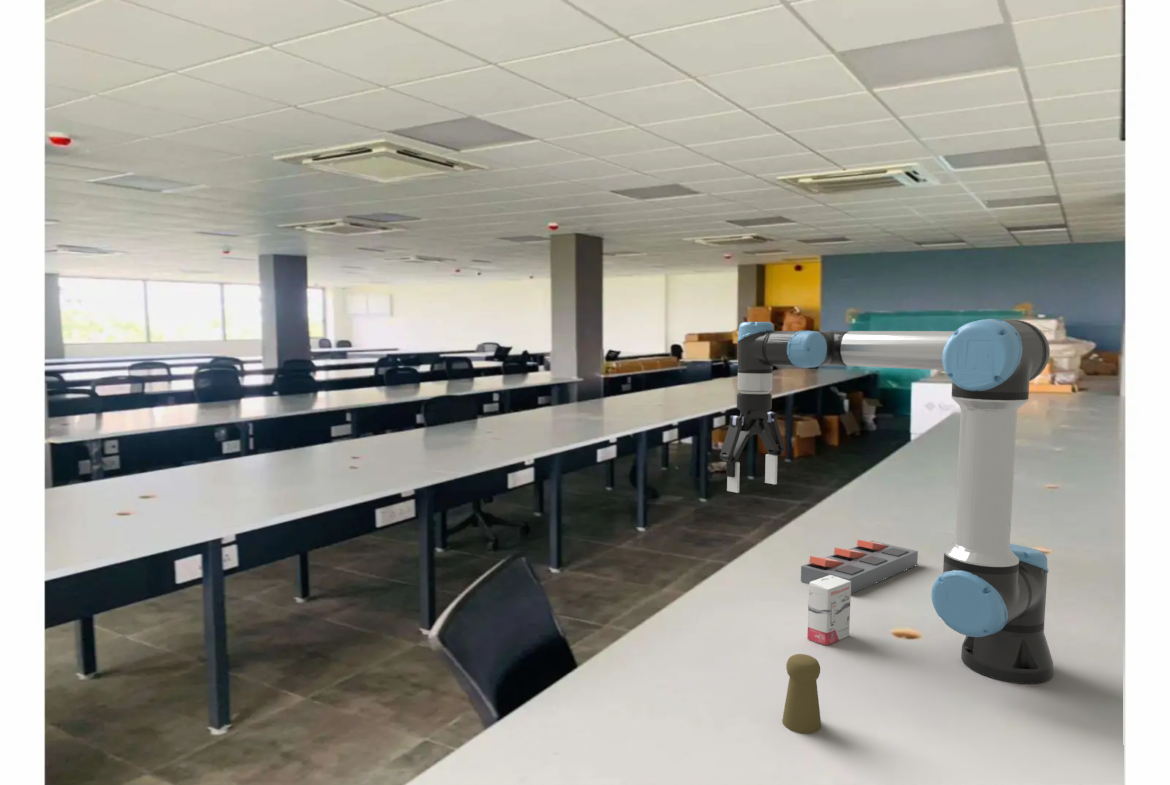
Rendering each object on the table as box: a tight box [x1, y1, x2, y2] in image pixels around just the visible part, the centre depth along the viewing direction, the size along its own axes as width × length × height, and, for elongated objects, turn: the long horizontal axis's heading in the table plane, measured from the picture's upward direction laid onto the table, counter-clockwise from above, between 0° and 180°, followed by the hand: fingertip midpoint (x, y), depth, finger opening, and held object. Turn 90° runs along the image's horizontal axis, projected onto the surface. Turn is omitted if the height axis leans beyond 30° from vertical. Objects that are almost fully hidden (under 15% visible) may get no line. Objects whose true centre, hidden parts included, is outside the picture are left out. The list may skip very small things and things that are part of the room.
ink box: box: [807, 575, 852, 646], centre depth 156 cm, size 9×5×12 cm, turn 129°
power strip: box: [800, 540, 919, 595], centre depth 200 cm, size 13×44×4 cm, turn 131°
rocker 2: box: [833, 547, 866, 558], centre depth 200 cm, size 4×8×2 cm, turn 131°
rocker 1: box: [808, 555, 842, 567], centre depth 192 cm, size 4×8×2 cm, turn 131°
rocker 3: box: [856, 539, 887, 550], centre depth 207 cm, size 4×8×2 cm, turn 131°
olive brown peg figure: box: [781, 653, 822, 735], centre depth 122 cm, size 6×6×11 cm
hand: (752, 487), depth 170 cm, fingers open, 13 cm apart
